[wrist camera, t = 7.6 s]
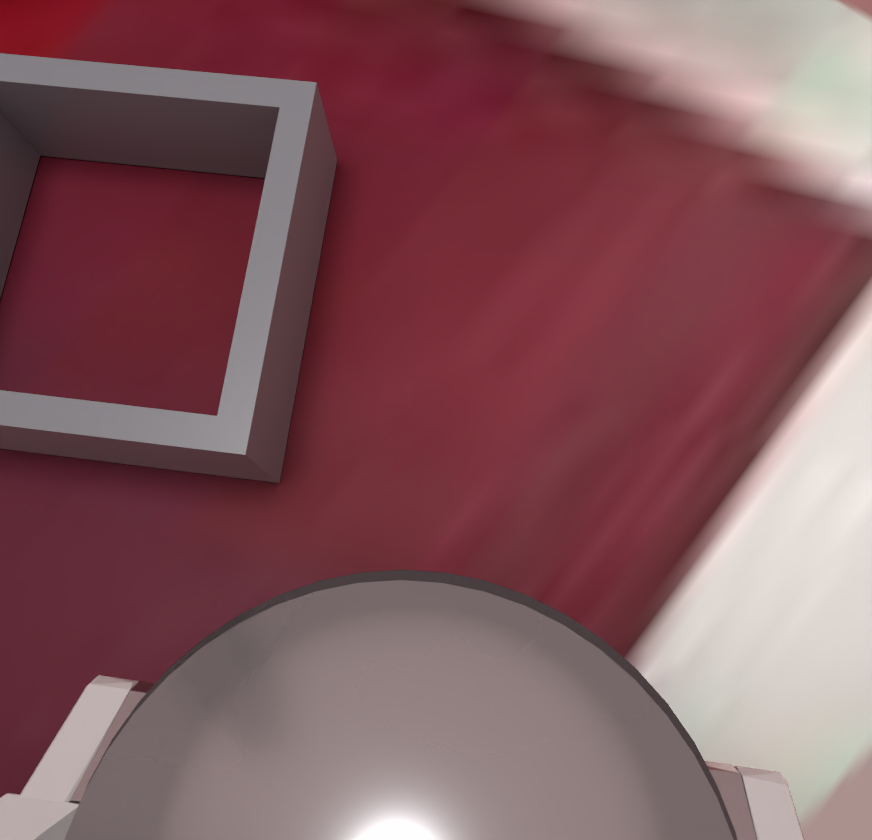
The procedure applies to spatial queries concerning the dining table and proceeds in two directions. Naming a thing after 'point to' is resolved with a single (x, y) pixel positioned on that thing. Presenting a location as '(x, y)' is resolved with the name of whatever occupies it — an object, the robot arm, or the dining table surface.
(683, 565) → the dining table surface
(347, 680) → the tube
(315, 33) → the dining table surface
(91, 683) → the robot arm
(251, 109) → the socket
